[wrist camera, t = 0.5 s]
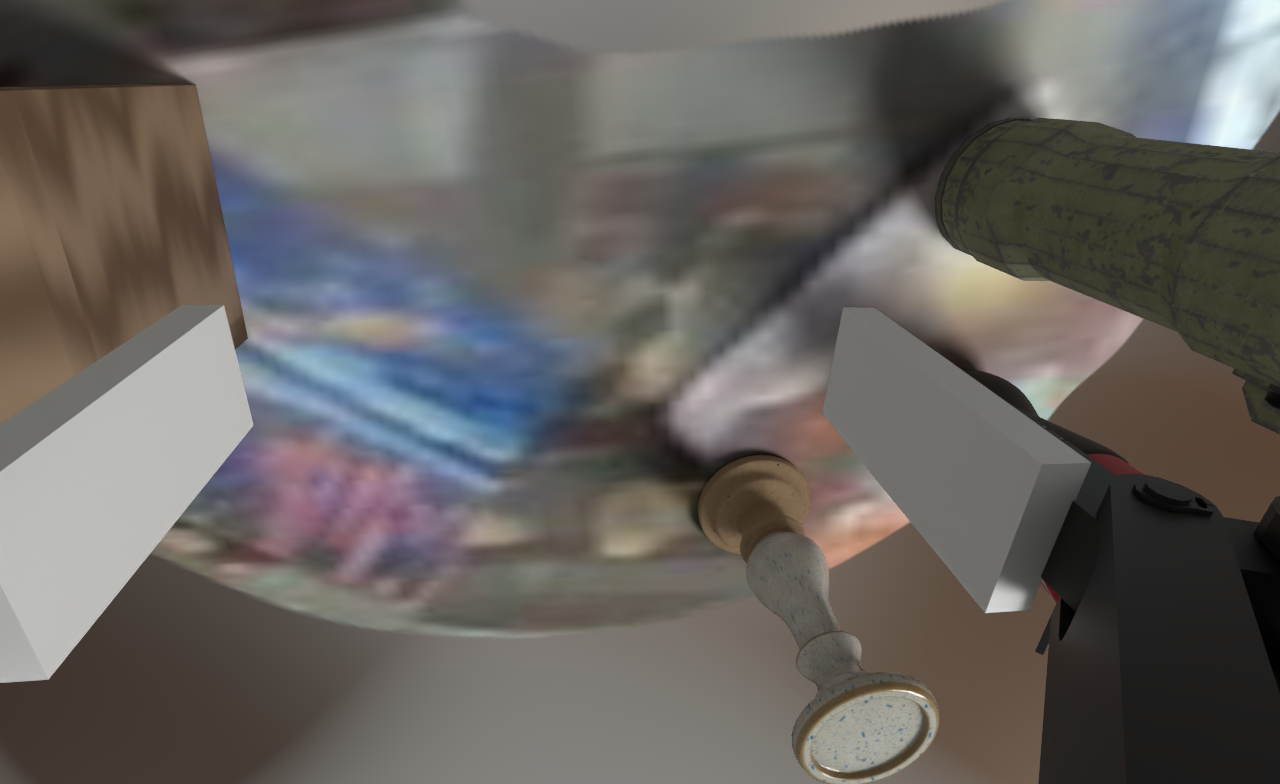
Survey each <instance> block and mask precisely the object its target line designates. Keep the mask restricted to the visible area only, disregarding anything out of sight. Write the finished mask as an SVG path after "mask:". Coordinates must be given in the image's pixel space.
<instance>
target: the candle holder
mask: <svg viewBox="0 0 1280 784" xmlns="http://www.w3.org/2000/svg"><path fill="white" fill-rule="evenodd" d="M810 502H811V495H810V490H809V486H808V484H807V481H806V479H805V478H804V476H803V475H802V473H801V472H800V471H799V470H798V469H797V468H796V467H795V466H794V465H793V464H791V463H790V462H788V461H786V460H784V459H782V458H779V457H775V456H769V455H753V456H748V457H744V458H741V459H737V460H735V461H733V462H731V463H729V464H727V465H726V466H724V467H723V468H721V469H720V470H719V471H718V472H716V473H715V474H714V475H713V476H712V477H711V478H710V480H709V481H708V482H707V484H706V485H705V487H704V489H703V491H702V493H701V495H700V499H699V503H698V516H699V521H700V524H701V527H702V529H703V531H704V533H705V535H706V536H707V537H708V539H709V540H710V541H711V542H712V543H714V544H715V545H716V546H718V547H720V548H721V549H723V550H726V551H729V552H733V553H739V554H741V556H742V558H743V560H744V561H745V562H746V563H747V566H746V576H747V582H748V585H749V587H750V589H751V591H752V593H753V594H754V596H755V597H756V598H757V599H758V600H759V601H760V602H761V603H762V604H763V605H764V606H765V607H766V608H768V609H769V610H770V611H772V612H773V613H774V614H776V615H777V616H779V617H780V618H781V619H782V620H783V621H784V622H785V624H786V625H787V626H788V628H789V630H790V631H791V633H792V635H793V637H794V639H795V641H796V643H797V645H798V647H799V650H800V651H799V653H798V655H797V659H796V665H797V669H798V671H799V672H800V673H801V675H803V677H805V678H806V679H808V680H810V681H812V682H814V683H815V684H816V686H817V690H818V693H817V694H816V697H815V698H814V699H813V700H812V701H811V702H810V703H809V704H808V705H807V706H806V707H805V709H804V710H803V711H802V712H801V714H800V715H799V717H798V718H797V720H796V722H795V725H794V727H793V731H792V748H793V752H794V755H795V757H796V759H797V761H798V763H799V764H800V766H801V767H802V768H803V769H804V770H805V771H806V772H807V773H808V774H809V775H810V776H812V777H813V778H815V779H816V780H819V781H821V782H823V783H827V784H867V783H871V782H874V781H878V780H881V779H883V778H886V777H888V776H891V775H893V774H895V773H897V772H898V771H901V770H902V769H904V768H905V767H907V766H909V765H910V764H911V763H913V762H914V761H915V760H916V759H918V758H919V757H920V756H921V755H922V754H923V753H924V752H925V751H926V749H927V748H928V747H929V746H930V744H931V743H932V741H933V739H934V738H935V736H936V733H937V730H938V726H939V711H938V707H937V704H936V701H935V699H934V697H933V695H932V694H931V692H930V691H929V689H928V688H927V687H926V686H924V685H923V684H922V683H921V682H920V681H919V680H917V679H915V678H913V677H911V676H908V675H905V674H901V673H895V672H876V673H870V672H866V671H864V670H863V669H862V668H861V666H860V658H861V644H860V642H859V641H858V639H857V638H856V637H855V636H854V635H852V634H850V633H848V632H844V631H842V630H841V628H840V626H839V624H838V622H837V620H836V618H835V615H834V613H833V611H832V609H831V606H830V602H829V596H828V594H829V571H828V565H827V561H826V558H825V556H824V554H823V552H822V551H821V549H820V548H819V546H818V545H817V544H816V543H815V542H813V541H812V540H811V539H809V538H808V537H806V535H805V531H804V529H803V527H802V524H803V522H804V520H805V519H806V517H807V514H808V511H809V508H810Z"/></svg>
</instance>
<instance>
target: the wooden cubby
mask: <svg viewBox="0 0 1280 784" xmlns="http://www.w3.org/2000/svg"><path fill="white" fill-rule="evenodd" d="M181 305H224V307H225V311H226V315H227V319H228V324H229V328H230V332H231V336H232V340H233V344H234V348H235V349H236V348H238V347H239V346H240V345H241V344H242V343H243V342H244V341H245V340H246V339H248V337H247V332H246V327H245V323H244V318H243V313H242V308H241V303H240V298H239V293H238V288H237V284H236V279H235V274H234V269H233V264H232V259H231V254H230V249H229V245H228V240H227V235H226V230H225V225H224V220H223V215H222V210H221V206H220V201H219V196H218V191H217V186H216V181H215V176H214V171H213V167H212V162H211V157H210V152H209V147H208V142H207V137H206V132H205V128H204V123H203V118H202V113H201V108H200V103H199V98H198V94H197V89H196V85H187V84H173V83H162V84H118V85H73V86H29V87H0V424H2V423H3V422H5V421H6V420H8V419H9V418H11V417H12V416H14V415H15V414H17V413H19V412H20V411H22V410H23V409H25V408H26V407H28V406H29V405H31V404H32V403H34V402H35V401H37V400H38V399H40V398H41V397H43V396H44V395H46V394H47V393H49V392H50V391H52V390H53V389H55V388H57V387H58V386H60V385H61V384H63V383H64V382H66V381H67V380H69V379H70V378H72V377H73V376H75V375H76V374H78V373H79V372H81V371H82V370H84V369H85V368H87V367H88V366H90V365H91V364H93V363H95V362H96V361H98V360H99V359H101V358H102V357H104V356H105V355H107V354H108V353H110V352H111V351H113V350H114V349H116V348H117V347H119V346H120V345H122V344H123V343H125V342H126V341H128V340H129V339H131V338H133V337H134V336H136V335H137V334H139V333H140V332H142V331H143V330H145V329H146V328H148V327H149V326H151V325H152V324H154V323H155V322H157V321H158V320H160V319H161V318H163V317H164V316H166V315H168V314H169V313H171V312H172V311H174V310H175V309H177V308H178V307H180V306H181Z"/></svg>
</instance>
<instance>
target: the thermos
mask: <svg viewBox="0 0 1280 784" xmlns="http://www.w3.org/2000/svg"><path fill="white" fill-rule="evenodd" d="M935 205H936V220H937V223H938V225H939V228H940V230H941V233H942V235H943V237H944V238H945V239H946V240H947V241H948V242H949V243H950V244H951V245H952V246H953V247H954V248H955V249H957V250H960V251H962V252H964V253H967V254H969V255H971V256H973V257H974V258H975V259H976V260H977V261H979V262H981V263H984V264H986V265H988V266H991V267H993V268H995V269H998V270H1000V271H1002V272H1005V273H1007V274H1009V275H1012V276H1014V277H1016V278H1019V279H1021V280H1025V281H1052V282H1055V283H1057V284H1060V285H1062V286H1065V287H1067V288H1070V289H1072V290H1074V291H1077V292H1079V293H1082V294H1084V295H1087V296H1089V297H1092V298H1094V299H1097V300H1099V301H1102V302H1104V303H1107V304H1109V305H1112V306H1114V307H1117V308H1119V309H1122V310H1124V311H1126V312H1129V313H1131V314H1134V315H1136V316H1139V317H1141V318H1144V319H1146V320H1149V321H1151V322H1154V323H1156V324H1159V325H1161V326H1164V327H1166V328H1169V329H1171V330H1174V331H1176V332H1178V333H1179V335H1180V336H1181V337H1182V338H1183V340H1184V341H1185V342H1186V343H1187V345H1188V346H1189V347H1190V348H1191V349H1192V350H1193V351H1195V352H1197V353H1200V354H1202V355H1205V356H1207V357H1209V358H1212V359H1214V360H1216V361H1219V362H1221V363H1223V364H1226V365H1228V366H1231V367H1233V368H1234V370H1233V374H1234V375H1236V376H1238V377H1240V378H1242V379H1244V380H1246V382H1245V384H1244V386H1243V388H1242V390H1243V393H1244V396H1245V400H1246V403H1247V407H1248V410H1249V414H1250V418H1251V421H1252V422H1255V423H1257V424H1259V425H1261V426H1263V427H1265V428H1267V429H1270V430H1272V431H1274V432H1276V433H1278V434H1280V153H1276V152H1267V151H1258V150H1248V149H1239V148H1229V147H1220V146H1210V145H1201V144H1191V143H1182V142H1172V141H1163V140H1153V139H1144V138H1137V137H1135V136H1134V135H1133V134H1131V133H1128V132H1125V131H1122V130H1119V129H1116V128H1113V127H1110V126H1107V125H1104V124H1101V123H1097V122H1085V121H1074V120H1062V119H1046V118H1037V119H1034V120H1029V119H1012V118H1008V119H1005V120H1002V121H998V122H995V123H992V124H988V125H987V126H985V127H984V128H982V129H981V130H979V131H978V132H976V133H974V134H973V135H971V136H970V137H968V139H967V140H966V141H965V142H964V143H963V144H962V145H961V146H960V147H959V148H958V149H957V151H956V152H955V153H954V154H953V155H952V157H951V158H950V160H949V162H948V164H947V166H946V168H945V169H944V171H943V173H942V175H941V177H940V181H939V185H938V189H937V193H936V197H935Z"/></svg>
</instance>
